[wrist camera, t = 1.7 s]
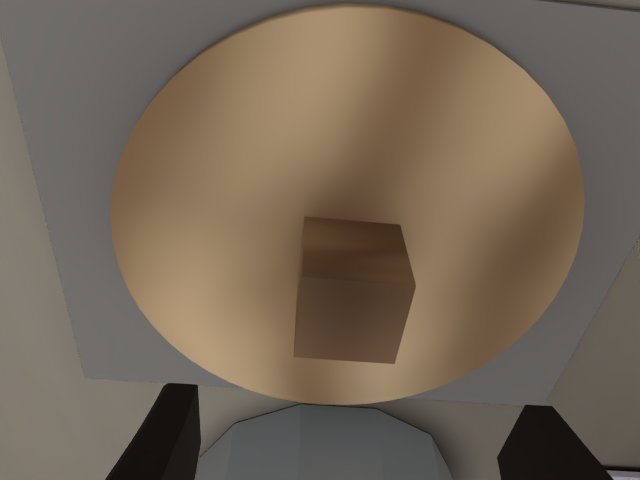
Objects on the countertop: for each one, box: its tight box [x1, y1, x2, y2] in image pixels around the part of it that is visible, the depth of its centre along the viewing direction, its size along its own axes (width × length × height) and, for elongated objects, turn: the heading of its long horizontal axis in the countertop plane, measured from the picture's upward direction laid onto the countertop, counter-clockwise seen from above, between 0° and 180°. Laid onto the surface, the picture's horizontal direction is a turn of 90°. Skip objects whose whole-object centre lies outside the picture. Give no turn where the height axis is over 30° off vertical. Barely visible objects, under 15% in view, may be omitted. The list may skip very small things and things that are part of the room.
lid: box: [110, 3, 585, 405], centre depth 15 cm, size 15×15×4 cm
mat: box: [0, 0, 640, 406], centre depth 17 cm, size 20×16×1 cm
